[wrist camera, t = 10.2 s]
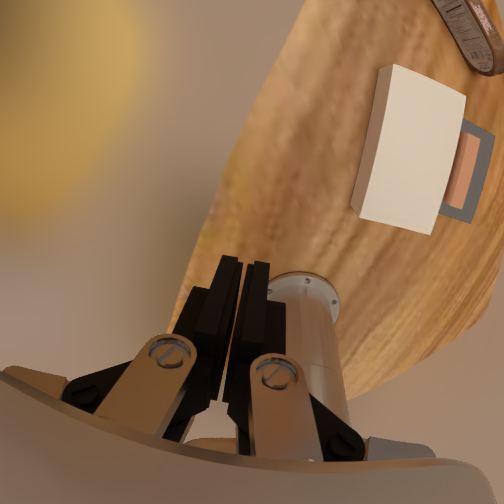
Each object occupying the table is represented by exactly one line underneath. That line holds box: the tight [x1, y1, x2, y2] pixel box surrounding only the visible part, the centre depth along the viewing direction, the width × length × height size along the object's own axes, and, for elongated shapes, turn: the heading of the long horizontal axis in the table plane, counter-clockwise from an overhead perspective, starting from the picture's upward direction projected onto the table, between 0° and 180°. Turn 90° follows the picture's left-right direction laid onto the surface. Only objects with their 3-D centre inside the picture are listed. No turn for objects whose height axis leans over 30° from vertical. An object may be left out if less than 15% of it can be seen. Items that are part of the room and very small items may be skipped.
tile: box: [442, 131, 480, 209], centre depth 29 cm, size 9×6×2 cm
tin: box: [432, 0, 504, 77], centre depth 19 cm, size 15×3×8 cm, turn 32°
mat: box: [438, 119, 495, 224], centre depth 32 cm, size 14×10×1 cm
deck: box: [350, 64, 466, 235], centre depth 30 cm, size 18×10×5 cm, turn 171°
